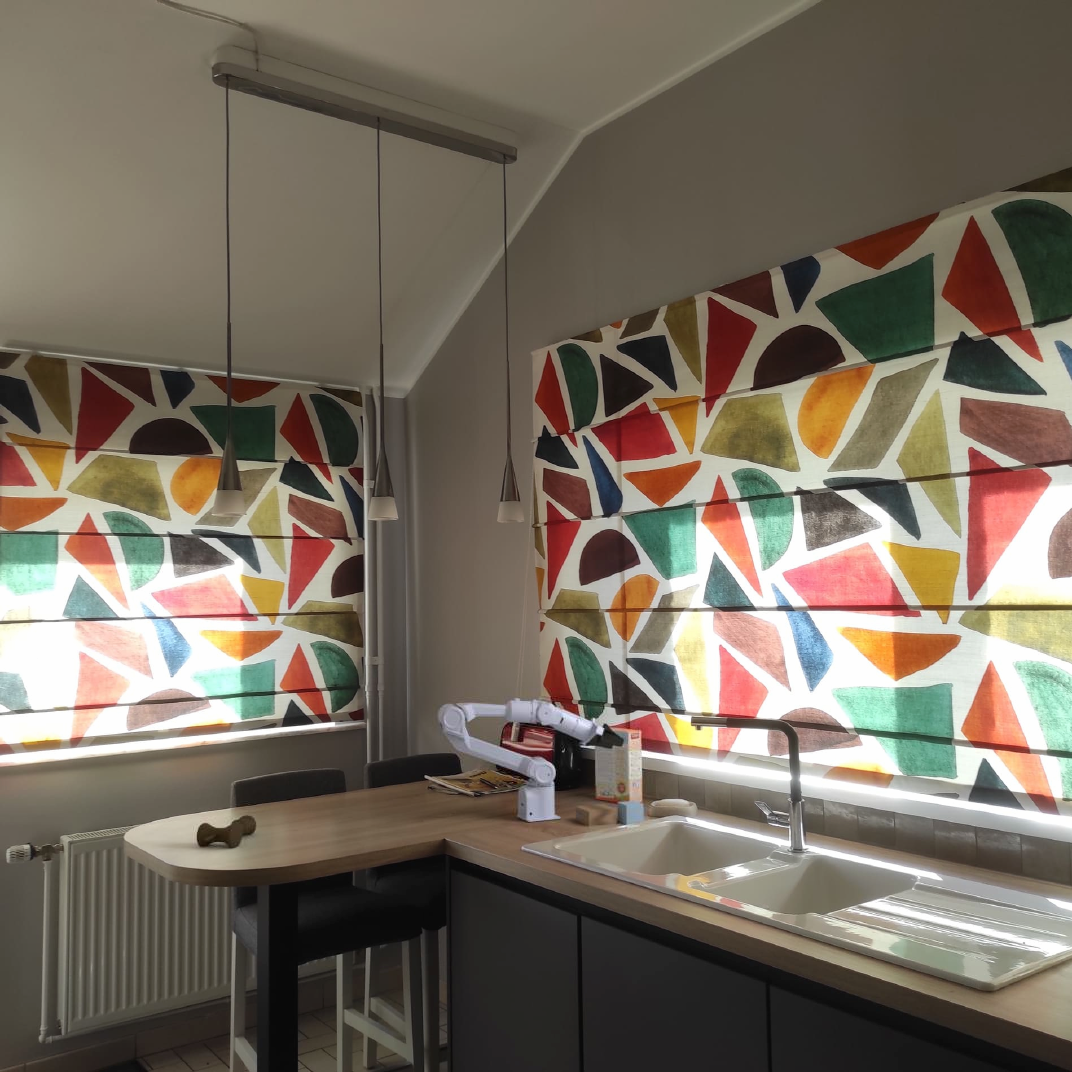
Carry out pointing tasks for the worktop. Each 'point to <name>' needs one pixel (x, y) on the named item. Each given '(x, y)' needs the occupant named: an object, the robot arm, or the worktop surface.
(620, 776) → the cracker box
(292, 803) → the worktop surface
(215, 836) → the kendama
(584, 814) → the walnut block
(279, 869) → the worktop surface
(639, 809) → the slate cube
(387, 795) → the worktop surface
